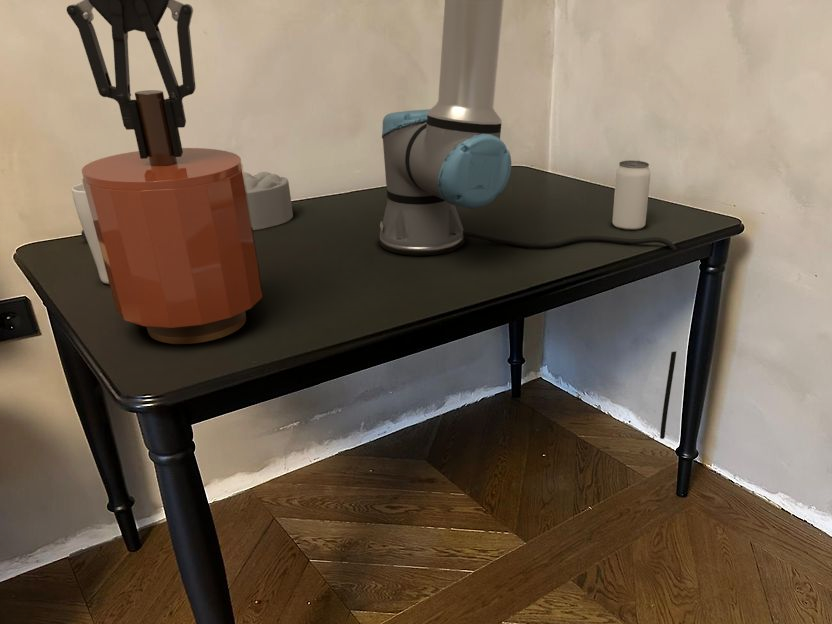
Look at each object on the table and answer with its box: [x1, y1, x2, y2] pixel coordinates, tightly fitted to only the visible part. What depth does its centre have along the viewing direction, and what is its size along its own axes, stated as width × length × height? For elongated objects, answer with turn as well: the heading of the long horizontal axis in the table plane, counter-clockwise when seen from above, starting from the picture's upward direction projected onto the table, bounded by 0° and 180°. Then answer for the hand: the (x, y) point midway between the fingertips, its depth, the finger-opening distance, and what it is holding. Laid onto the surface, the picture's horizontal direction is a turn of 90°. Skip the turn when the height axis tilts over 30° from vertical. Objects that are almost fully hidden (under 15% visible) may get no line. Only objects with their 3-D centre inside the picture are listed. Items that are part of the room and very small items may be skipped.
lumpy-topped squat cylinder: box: [244, 171, 294, 231], centre depth 148 cm, size 10×13×9 cm
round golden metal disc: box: [145, 311, 247, 345], centre depth 106 cm, size 13×13×1 cm
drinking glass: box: [70, 182, 110, 285], centre depth 117 cm, size 7×7×15 cm
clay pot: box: [81, 89, 263, 328], centre depth 98 cm, size 19×19×27 cm
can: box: [611, 159, 651, 231], centre depth 146 cm, size 6×6×12 cm
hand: (162, 155), depth 95 cm, fingers closed on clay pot, 3 cm apart
